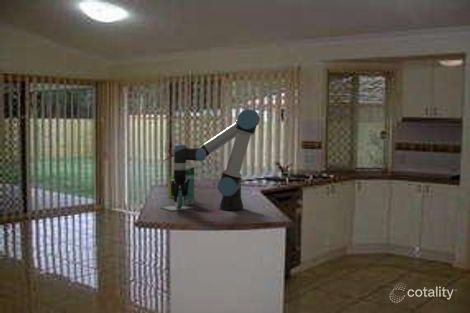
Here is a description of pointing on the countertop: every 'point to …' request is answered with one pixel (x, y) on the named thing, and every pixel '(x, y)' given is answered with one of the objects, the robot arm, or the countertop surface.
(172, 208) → the writing board
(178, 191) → the teal and grey cylinder
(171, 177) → the spray bottle
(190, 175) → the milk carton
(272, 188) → the countertop surface
